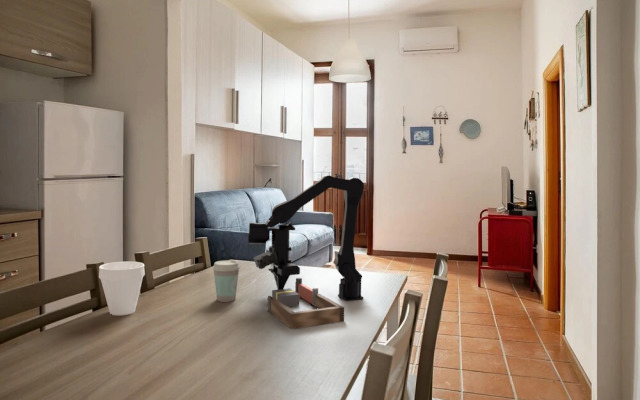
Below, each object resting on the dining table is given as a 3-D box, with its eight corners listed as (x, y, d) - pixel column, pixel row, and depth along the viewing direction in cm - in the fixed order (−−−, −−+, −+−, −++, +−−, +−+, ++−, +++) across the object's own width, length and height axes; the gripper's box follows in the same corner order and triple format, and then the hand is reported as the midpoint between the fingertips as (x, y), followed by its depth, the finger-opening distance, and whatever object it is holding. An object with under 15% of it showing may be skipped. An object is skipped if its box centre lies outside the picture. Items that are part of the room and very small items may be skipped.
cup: (154, 309, 142) (153, 263, 141) (121, 321, 131) (120, 271, 130) (123, 303, 148) (123, 259, 147) (89, 314, 136) (88, 267, 136)
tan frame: (315, 304, 150) (316, 290, 150) (344, 321, 134) (344, 305, 134) (267, 310, 143) (267, 295, 143) (291, 329, 127) (291, 312, 127)
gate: (319, 304, 149) (319, 287, 148) (313, 305, 148) (313, 288, 147) (299, 293, 162) (299, 277, 162) (294, 293, 161) (294, 277, 161)
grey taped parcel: (289, 298, 156) (289, 288, 156) (299, 305, 149) (299, 294, 149) (271, 301, 154) (271, 289, 154) (281, 307, 147) (281, 296, 146)
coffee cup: (233, 304, 149) (234, 265, 148) (208, 302, 151) (208, 264, 150) (243, 296, 158) (243, 260, 157) (219, 295, 159) (219, 259, 158)
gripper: (247, 240, 159) (247, 287, 160) (266, 250, 143) (266, 301, 144) (278, 239, 164) (278, 284, 165) (300, 247, 148) (300, 297, 149)
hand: (280, 291), depth 156 cm, fingers closed
